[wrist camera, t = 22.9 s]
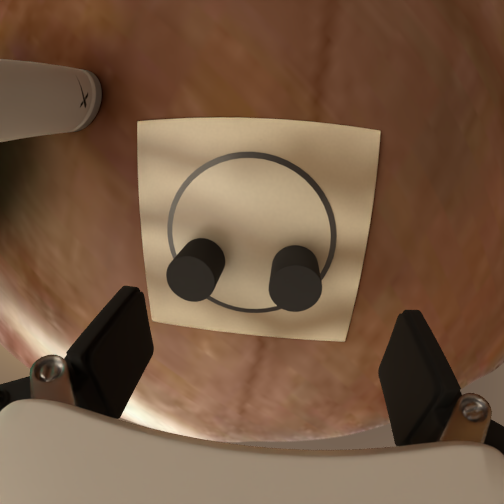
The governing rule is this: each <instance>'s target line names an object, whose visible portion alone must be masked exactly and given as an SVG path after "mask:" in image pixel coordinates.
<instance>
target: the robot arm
mask: <svg viewBox="0 0 504 504" xmlns="http://www.w3.org/2000/svg"><path fill="white" fill-rule="evenodd" d="M153 350H154V347H153V342H152V337H151V331H150V326H149V321H148V315H147V310H146V304H145V298H144V294H143V292H140V290H139V288H137V287H130V286H123V287H122V288H121V289H120V290H119V291H118V292H117V293H116V295H115V296H114V297H113V298H112V299H111V300H110V301H109V302H108V304H107V305H106V306H105V307H104V308H103V309H102V310H101V312H100V313H99V314H98V315H97V316H96V317H95V319H94V320H93V321H92V322H91V323H90V325H89V326H88V327H87V328H86V329H85V330H84V332H83V333H82V334H81V335H80V336H79V338H78V339H77V340H76V341H75V343H74V344H73V345H72V346H71V347H70V349H69V350H68V351H67V352H66V353H67V356H66V357H65V358H64V359H63V358H62V357H60V356H58V355H47V356H44V357H41V358H40V359H38V360H37V361H36V362H35V363H34V364H33V365H32V367H31V369H30V376H29V377H25V378H22V379H18V380H15V381H11V382H8V383H4V384H0V504H504V427H503V426H502V425H500V424H498V423H496V422H495V421H493V420H491V414H492V411H491V407H490V405H489V403H488V402H487V401H486V400H485V399H484V398H483V397H481V396H480V395H478V394H474V393H467V394H464V395H462V394H461V392H460V389H461V388H460V386H459V384H458V382H457V380H456V378H455V375H454V373H453V371H452V369H451V367H450V365H449V363H448V361H447V359H446V357H445V355H444V354H443V352H442V350H441V348H440V346H439V344H438V342H437V340H436V338H435V337H434V335H433V333H432V331H431V329H430V327H429V326H428V324H427V322H426V320H425V319H424V317H423V315H422V313H421V312H420V311H419V310H404V312H403V313H402V314H399V315H398V318H397V321H396V324H395V327H394V329H393V332H392V335H391V338H390V341H389V343H388V346H387V349H386V351H385V354H384V356H383V359H382V361H381V364H380V366H379V378H380V382H381V386H382V390H383V394H384V398H385V402H386V406H387V410H388V414H389V418H390V423H391V427H392V432H393V436H394V441H395V444H396V447H385V448H371V449H353V450H297V449H277V448H265V447H254V446H245V445H237V444H229V443H222V442H215V441H209V440H203V439H198V438H192V437H187V436H182V435H177V434H173V433H168V432H164V431H160V430H155V429H151V428H147V427H144V426H140V425H136V424H132V423H129V422H125V421H122V420H118V418H120V416H121V415H122V413H123V411H124V409H125V407H126V405H127V403H128V401H129V399H130V397H131V395H132V393H133V391H134V389H135V387H136V385H137V383H138V382H139V380H140V378H141V376H142V374H143V372H144V370H145V368H146V366H147V364H148V363H149V361H150V359H151V357H152V355H153Z"/></svg>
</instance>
